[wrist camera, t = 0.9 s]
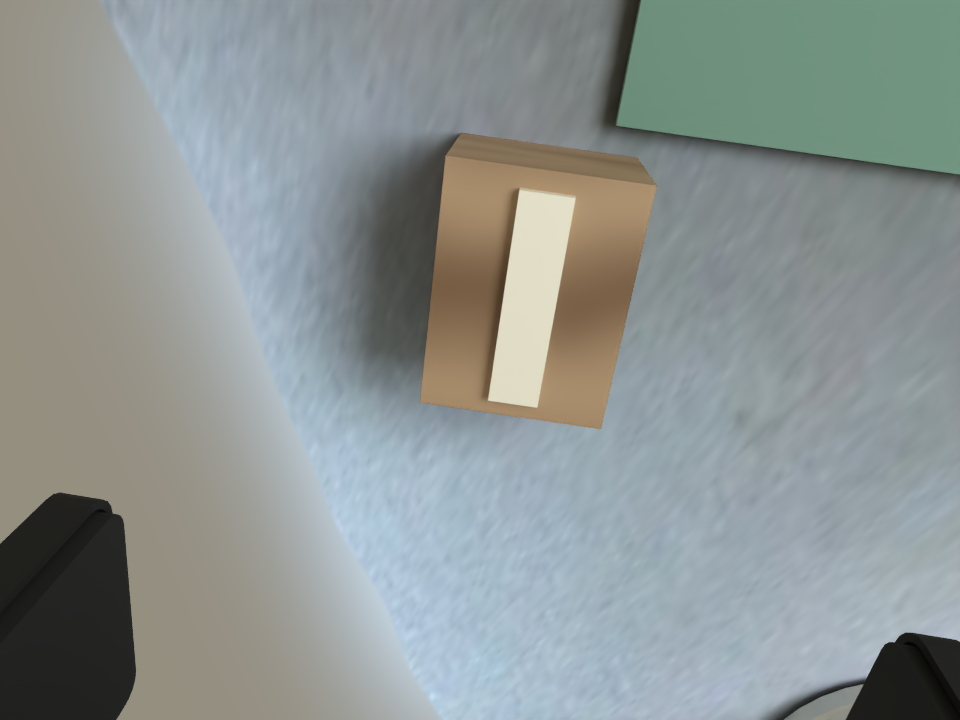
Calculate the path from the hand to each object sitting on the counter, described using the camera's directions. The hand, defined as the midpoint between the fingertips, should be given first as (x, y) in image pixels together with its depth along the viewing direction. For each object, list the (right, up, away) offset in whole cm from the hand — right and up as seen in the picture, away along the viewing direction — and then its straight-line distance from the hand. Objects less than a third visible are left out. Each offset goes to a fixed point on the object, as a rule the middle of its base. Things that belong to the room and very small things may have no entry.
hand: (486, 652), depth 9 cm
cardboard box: (+2, +7, +17) cm, 19 cm away
